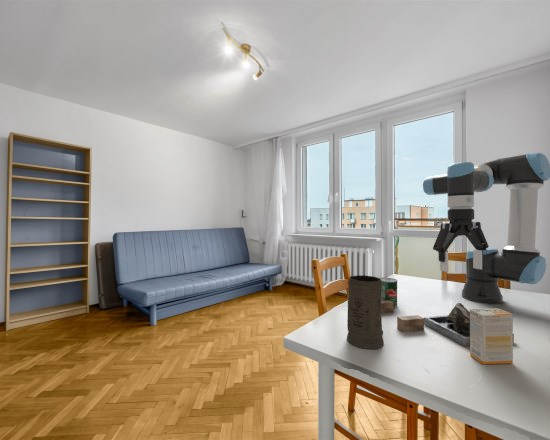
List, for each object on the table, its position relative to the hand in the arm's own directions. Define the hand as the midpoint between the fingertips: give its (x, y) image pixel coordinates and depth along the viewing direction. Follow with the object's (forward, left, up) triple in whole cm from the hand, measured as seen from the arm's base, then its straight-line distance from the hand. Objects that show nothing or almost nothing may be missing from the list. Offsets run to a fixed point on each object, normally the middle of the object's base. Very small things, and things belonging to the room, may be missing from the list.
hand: (461, 269), depth 92 cm
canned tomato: (+11, -26, -20) cm, 35 cm away
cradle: (+18, -10, -20) cm, 29 cm away
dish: (+2, +4, -20) cm, 20 cm away
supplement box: (+10, +19, -20) cm, 30 cm away
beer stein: (+36, +2, -20) cm, 41 cm away
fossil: (+2, +4, -19) cm, 20 cm away
